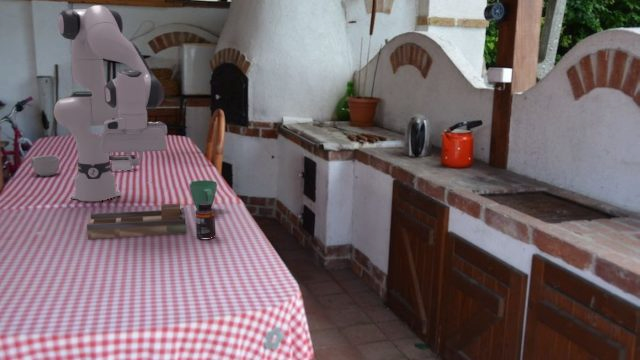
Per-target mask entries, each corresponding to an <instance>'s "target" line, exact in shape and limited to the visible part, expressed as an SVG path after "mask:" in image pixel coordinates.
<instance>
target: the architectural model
mask: <svg viewBox="0 0 640 360" xmlns="http://www.w3.org/2000/svg"><path fill="white" fill-rule="evenodd" d="M130 156H131V158H132V159H136V157H135V156H136V155H135V154H131V155H130ZM109 160H110V161H111V170H112V172H113V171H115V170H133V166H130V160H129V159H128V157H127V156H126V154H125V155H122V154H121V155H113V152H110V155H109Z"/></svg>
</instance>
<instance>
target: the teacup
mask: <svg viewBox="0 0 640 360" xmlns="http://www.w3.org/2000/svg"><path fill="white" fill-rule="evenodd" d="M29 160H30V161H29V162H30V164H31V166H32V167H33V170H34V173H35V174H36V175H38V176H39V175H40V176H39V177H44V176H45V177H51V176H50V175H53V176H55V175H56V174H57V173H58V172H60V171H59V170H60V159H59V156H58V155H50V154H49V155H40V156H32V157H31V158H30V159H29Z"/></svg>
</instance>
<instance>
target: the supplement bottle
mask: <svg viewBox="0 0 640 360" xmlns="http://www.w3.org/2000/svg"><path fill="white" fill-rule="evenodd" d="M198 205H199V206H198V207H199V209H198V210H197V209H196V211H195V227H196V228H195V229H196V232H195V233H196V239H199V238H211V237H214V236H215V237H216V216H215V215H216V213H215V212H216V211H215V210H214V209H213V208H212V207H211V202H200V203H199V204H198ZM215 237H214V238H215Z"/></svg>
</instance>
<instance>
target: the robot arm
mask: <svg viewBox="0 0 640 360" xmlns="http://www.w3.org/2000/svg"><path fill="white" fill-rule="evenodd" d="M57 28H58V30H59V32H60V35H61V36H62V37H63V38H64V39H67V40H71V48H70V49H71V51H70V53H71V54H70V55H71V57H70V58H71V69H72V71H71V73H72V80H73V81H74V83H75V84H77V85H78V86H80V87H82V88H84V89H87V90H88V91H90V93H91V96H71V97H66V98H61V99H58V100H57V101H56V103H55V105H54V108H53V116H54V119H55V121H56V123H58V124H59V125H60V126H62V127H64V128H65V129H66V130H68V132H69V133H70V134H71V135H72V137H73V138H74V141H75V143H76V148H77V153H78V154H77V156H78V162H77V172H78V174H77V175H75V177H74V193H72V194H71V195H70V199H71V198H72V200H77V199H78V201H82V202H101V201H102V200H103V201H108V200H107V199H109V200H111V199H110V198H112V199H114V198H113V197H115V198H117V197H116V196H120V195H122V194H123V193H122V191H121V190H120V188H119V187H118V184H117V183H116V175H115V174H114V173H112V171H111V170H112V162H111V160H109V156H110V153H111V152H112V153H125V155H126V156H127V157H128V159H129V160H130V166H132V167H134V166H140V165H141V163H140V162H141V158H142V157H143V154H144V152H164V151H166V150H167V149H168V145H167V138H166V136H167V135H168V126H167V124H166V123H164V122H163V121H148V110H147V109H156V108H157V107H159V105H161V104H162V102H163V100H164V99H165V98H164V97H165V91H164V88H163V85H162V83H161V82H160V80H159V79H158V78H157V77H156V75H155V74H154V73H153V71H152V70H151V67H150V66H149V64H148V63H147V61H146V60H145V57H144V56H143V54H142V52H141V51H140V50H139V48H138V46H137V45H136V44H135V43H133V42H131V41H130V40H128V39H127V38H126V37H125V36H124V35H123V34H122V33H123V31H124V30H123V29H124V23H123V18H122V16H121V14H120V13H119V12H118V11H116V10H111V9H109V8H107V7H106V6H103V5H99V4H96V5H91V6H90V7H88V8H78V9H77V8H76V9H73V8H68V9H64V10H62V11H61V12H60V13H59V15H58V19H57ZM104 60H108V61H113V62H118V63H121V64H124V65H127V66H128V67H130V68H129V69H127V68H125V69H121V70H119V71H118V72H117V75H116V77H115V78H113V79H111V80H109V81H108V82H107V80H106V76H105V67H104ZM98 126H100V127H101V126H102V127H103V128H104V129H103V130H102V132H101V135H99V134H97V133H94V132H93V131H91V130H90V127H98ZM133 152H136V153H137V154H138V157H137V158H135V159H132V158H131V156H130V155H132V153H133ZM122 196H123V195H122ZM120 197H121V196H120Z"/></svg>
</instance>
